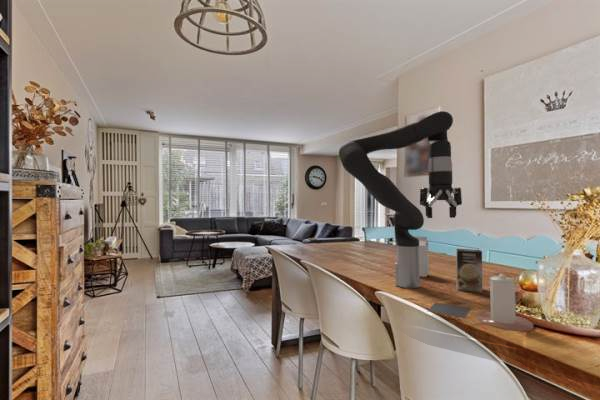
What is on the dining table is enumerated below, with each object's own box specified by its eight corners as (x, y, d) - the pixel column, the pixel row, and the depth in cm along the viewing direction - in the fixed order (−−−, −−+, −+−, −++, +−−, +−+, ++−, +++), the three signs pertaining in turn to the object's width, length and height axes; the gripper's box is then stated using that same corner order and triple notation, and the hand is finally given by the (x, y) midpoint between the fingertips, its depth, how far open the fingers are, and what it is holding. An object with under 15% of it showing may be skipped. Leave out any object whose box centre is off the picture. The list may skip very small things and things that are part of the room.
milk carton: (426, 277, 151) (425, 237, 151) (410, 275, 155) (410, 236, 155) (428, 274, 157) (428, 236, 157) (414, 273, 161) (413, 235, 161)
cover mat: (426, 312, 101) (426, 310, 101) (435, 303, 110) (435, 302, 110) (465, 319, 95) (465, 317, 95) (470, 309, 104) (470, 308, 104)
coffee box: (456, 290, 128) (456, 250, 128) (456, 286, 133) (455, 248, 134) (483, 292, 124) (482, 251, 124) (481, 288, 130) (480, 249, 130)
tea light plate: (472, 324, 91) (472, 313, 91) (479, 311, 102) (479, 301, 102) (533, 336, 82) (533, 324, 82) (533, 320, 94) (533, 309, 94)
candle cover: (489, 320, 92) (488, 274, 92) (492, 314, 96) (491, 270, 97) (515, 325, 88) (514, 277, 88) (516, 318, 93) (515, 273, 93)
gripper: (427, 169, 105) (427, 218, 104) (466, 169, 107) (467, 217, 106) (415, 172, 112) (416, 217, 112) (452, 172, 114) (453, 217, 114)
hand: (441, 217), depth 109 cm, fingers open, 8 cm apart
